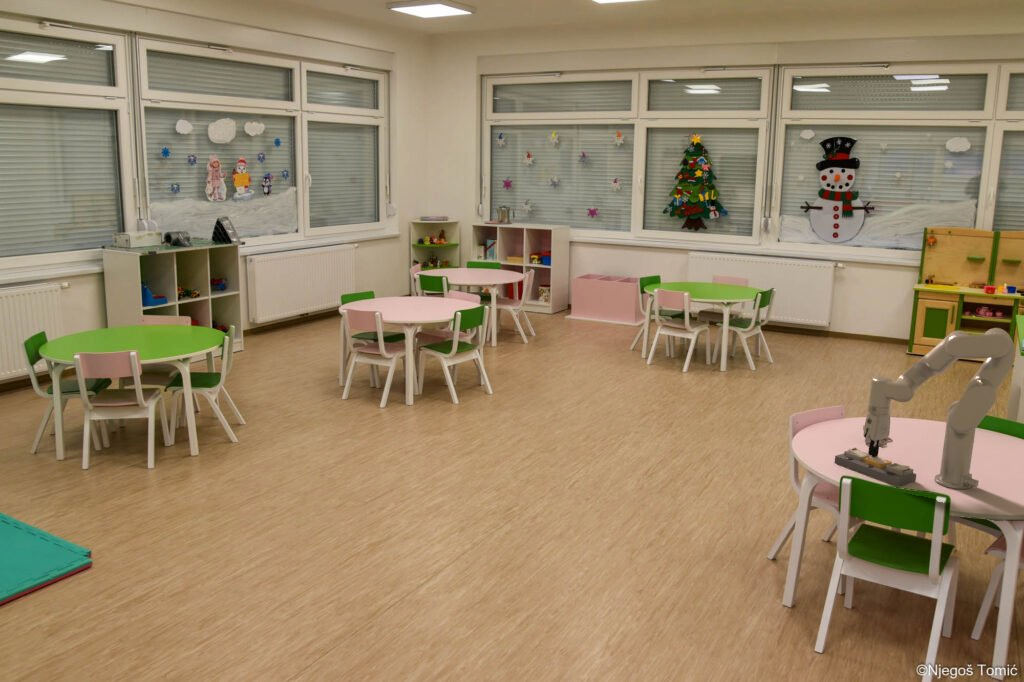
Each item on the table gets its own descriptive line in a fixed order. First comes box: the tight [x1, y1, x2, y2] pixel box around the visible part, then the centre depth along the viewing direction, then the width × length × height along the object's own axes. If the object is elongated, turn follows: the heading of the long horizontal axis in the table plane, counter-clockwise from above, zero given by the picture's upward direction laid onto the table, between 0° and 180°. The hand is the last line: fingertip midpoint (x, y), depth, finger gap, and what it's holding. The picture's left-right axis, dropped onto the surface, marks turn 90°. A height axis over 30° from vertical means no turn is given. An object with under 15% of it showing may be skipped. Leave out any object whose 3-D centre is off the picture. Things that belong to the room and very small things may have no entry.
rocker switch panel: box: [834, 449, 917, 488], centre depth 321 cm, size 28×10×4 cm, turn 32°
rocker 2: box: [890, 464, 911, 471], centre depth 314 cm, size 6×4×1 cm
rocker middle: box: [869, 455, 887, 464], centre depth 321 cm, size 6×4×1 cm
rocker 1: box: [848, 447, 867, 456], centre depth 329 cm, size 6×4×1 cm
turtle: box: [862, 424, 894, 447], centre depth 354 cm, size 16×10×10 cm, turn 156°
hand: (873, 454), depth 323 cm, fingers closed
